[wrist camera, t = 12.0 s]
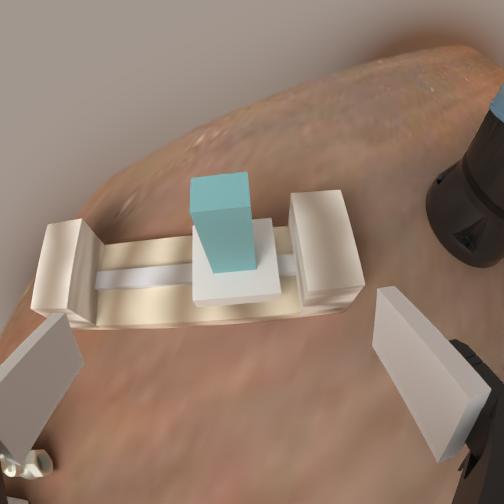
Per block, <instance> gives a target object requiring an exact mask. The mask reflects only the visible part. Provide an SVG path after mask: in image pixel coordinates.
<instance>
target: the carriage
mask: <svg viewBox="0 0 504 504" xmlns="http://www.w3.org/2000/svg"><path fill="white" fill-rule="evenodd" d="M190 215H191V217H192V220H193V223H194V226H193V242H192V296H193V302H194V303H195V305H196V306H197V307H208V306H221V305H233V304H244V303H255V302H266V301H276V300H280V299H281V288H280V279H279V272H278V264H277V256H276V248H275V241H274V233H273V226H272V218H264V219H253V220H252V215H251V204H250V194H249V184H248V173H247V172H241V173H231V174H222V175H213V176H204V177H196V178H191V191H190Z"/></svg>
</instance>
